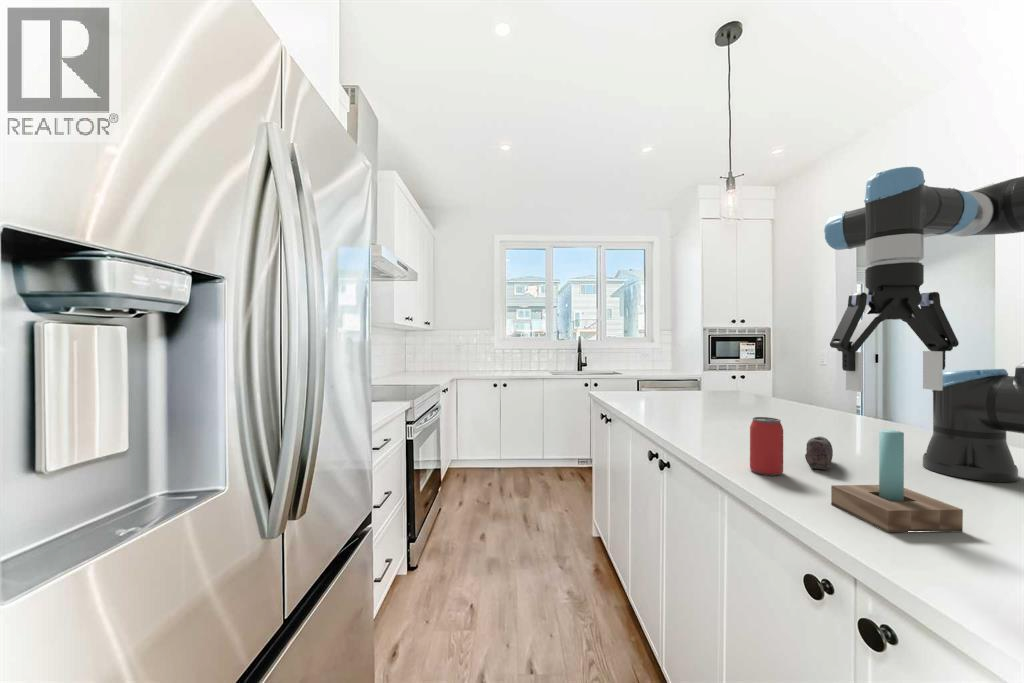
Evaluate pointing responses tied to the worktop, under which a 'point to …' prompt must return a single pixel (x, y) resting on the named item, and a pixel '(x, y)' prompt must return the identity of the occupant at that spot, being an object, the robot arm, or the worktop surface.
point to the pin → (891, 465)
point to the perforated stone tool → (819, 453)
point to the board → (897, 509)
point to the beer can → (766, 446)
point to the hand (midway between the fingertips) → (893, 390)
